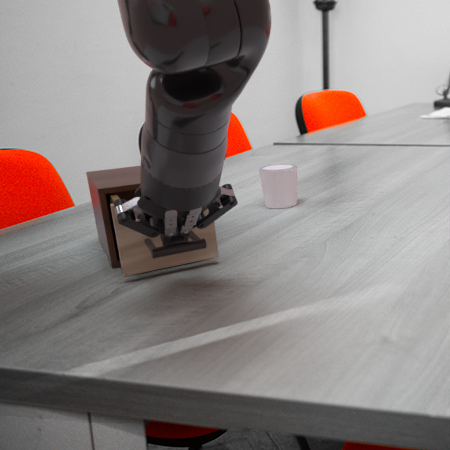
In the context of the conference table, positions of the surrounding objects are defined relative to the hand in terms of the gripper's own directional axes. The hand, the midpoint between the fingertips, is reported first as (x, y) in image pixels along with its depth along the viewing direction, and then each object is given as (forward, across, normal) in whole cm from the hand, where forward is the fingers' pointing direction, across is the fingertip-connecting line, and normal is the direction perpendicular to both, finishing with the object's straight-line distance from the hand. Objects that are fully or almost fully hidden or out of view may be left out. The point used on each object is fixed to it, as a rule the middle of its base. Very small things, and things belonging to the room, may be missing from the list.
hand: (173, 243), depth 68 cm
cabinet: (+15, 0, -9) cm, 18 cm away
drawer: (+7, 0, -2) cm, 7 cm away
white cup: (+23, -24, -16) cm, 37 cm away
